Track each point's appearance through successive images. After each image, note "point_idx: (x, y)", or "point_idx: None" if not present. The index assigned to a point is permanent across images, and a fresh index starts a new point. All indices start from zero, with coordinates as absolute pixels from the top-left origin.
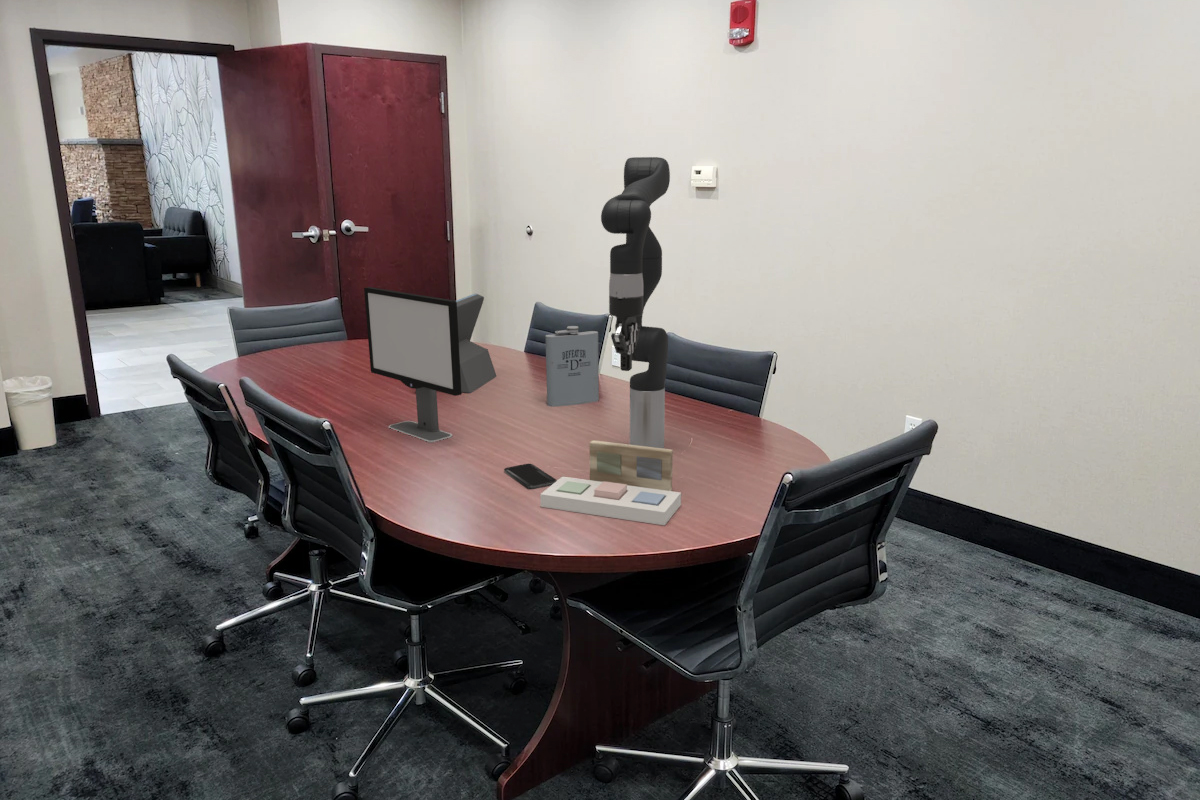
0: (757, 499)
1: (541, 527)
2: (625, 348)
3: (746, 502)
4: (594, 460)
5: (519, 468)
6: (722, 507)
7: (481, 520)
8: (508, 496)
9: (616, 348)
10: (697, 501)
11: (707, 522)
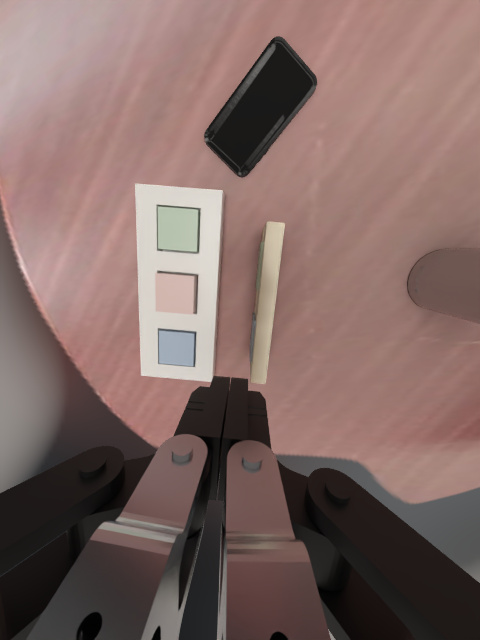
0: None
1: (81, 220)
2: (22, 587)
3: None
4: (263, 236)
5: (287, 71)
6: None
7: (63, 115)
8: (164, 114)
9: (7, 505)
10: None
11: (174, 408)
